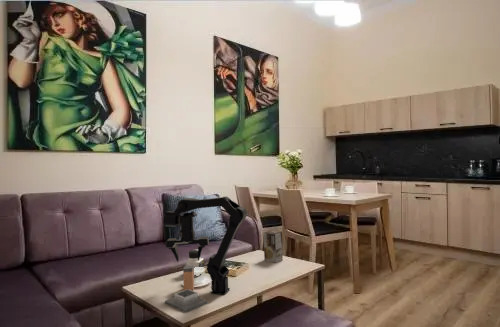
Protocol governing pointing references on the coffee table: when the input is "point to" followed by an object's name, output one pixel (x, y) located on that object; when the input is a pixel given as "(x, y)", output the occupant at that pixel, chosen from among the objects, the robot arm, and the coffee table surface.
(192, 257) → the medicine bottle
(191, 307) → the collar
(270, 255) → the coffee box
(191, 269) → the orange block
